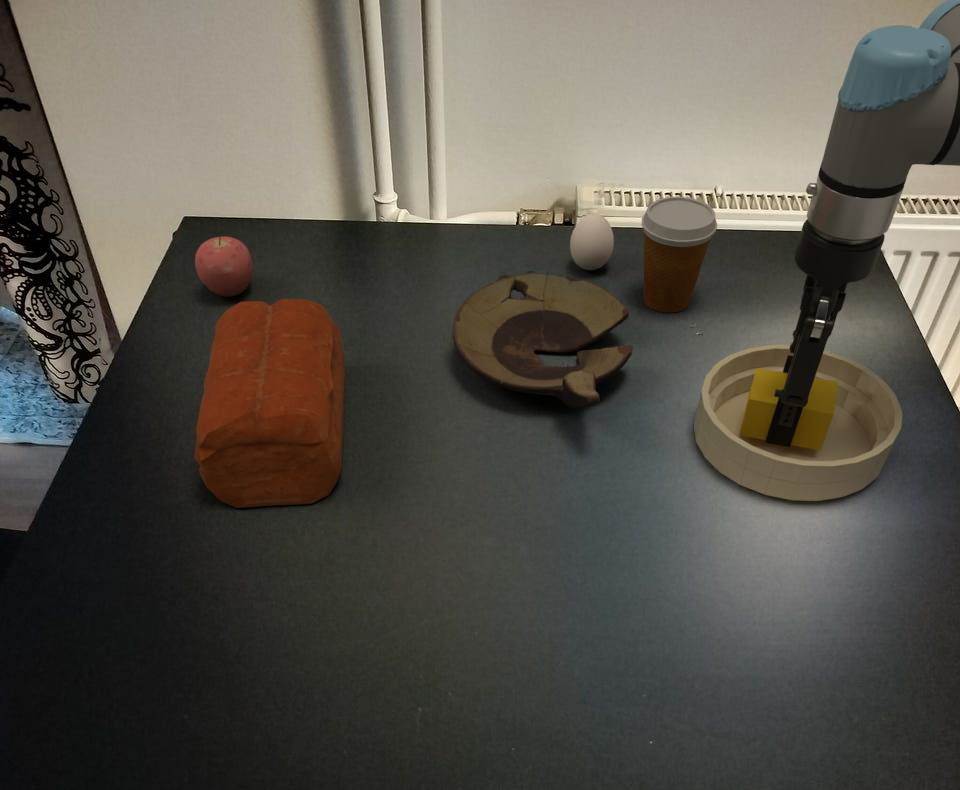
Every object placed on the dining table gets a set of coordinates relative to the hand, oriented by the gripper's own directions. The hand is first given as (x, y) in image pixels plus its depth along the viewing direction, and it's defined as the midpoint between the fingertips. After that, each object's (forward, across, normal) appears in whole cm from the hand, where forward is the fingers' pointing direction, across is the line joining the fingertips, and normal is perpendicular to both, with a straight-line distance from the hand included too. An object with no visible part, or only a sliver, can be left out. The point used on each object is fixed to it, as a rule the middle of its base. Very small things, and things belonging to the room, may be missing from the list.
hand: (781, 424), depth 101 cm
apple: (+2, -9, -76) cm, 76 cm away
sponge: (0, 0, 0) cm, 0 cm away
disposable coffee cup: (+2, -25, -18) cm, 31 cm away
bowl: (+2, 0, +1) cm, 2 cm away
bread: (+2, +16, -56) cm, 58 cm away
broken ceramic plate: (+2, -4, -30) cm, 30 cm away
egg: (+2, -30, -30) cm, 42 cm away
